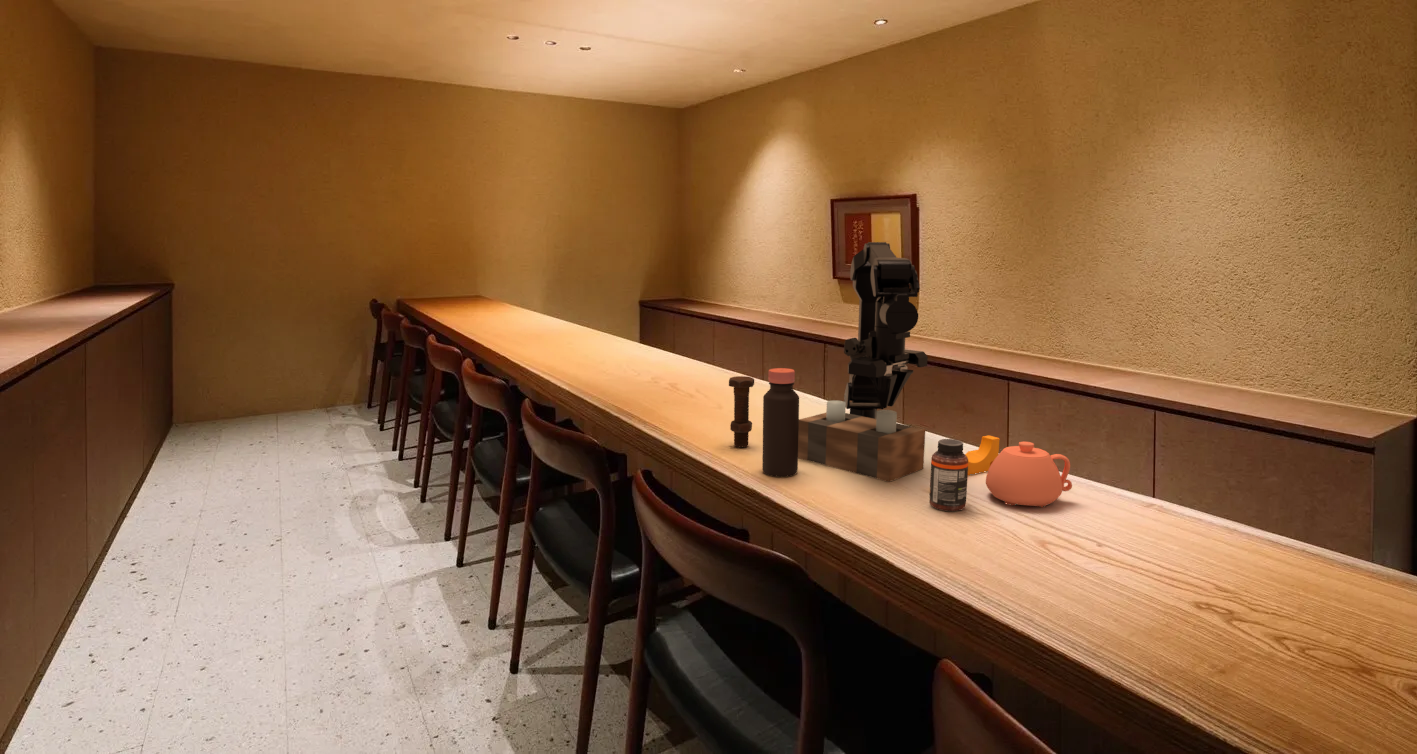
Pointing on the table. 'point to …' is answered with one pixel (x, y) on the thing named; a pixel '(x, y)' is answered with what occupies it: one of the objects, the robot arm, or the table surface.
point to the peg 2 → (886, 421)
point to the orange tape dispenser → (983, 455)
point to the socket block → (861, 446)
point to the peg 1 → (835, 411)
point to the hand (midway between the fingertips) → (886, 406)
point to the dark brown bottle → (780, 424)
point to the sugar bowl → (1027, 476)
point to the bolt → (741, 409)
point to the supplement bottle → (949, 476)
